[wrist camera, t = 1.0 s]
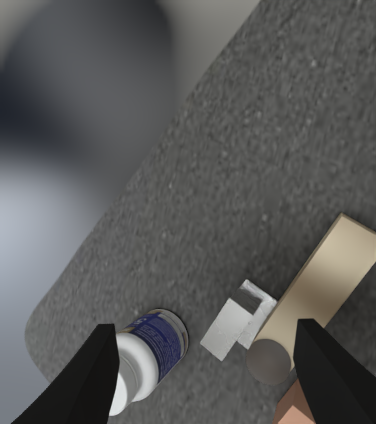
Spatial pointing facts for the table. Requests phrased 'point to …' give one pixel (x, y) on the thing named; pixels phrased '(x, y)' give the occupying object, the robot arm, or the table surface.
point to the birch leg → (312, 296)
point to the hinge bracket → (239, 319)
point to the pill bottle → (147, 355)
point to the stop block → (293, 407)
